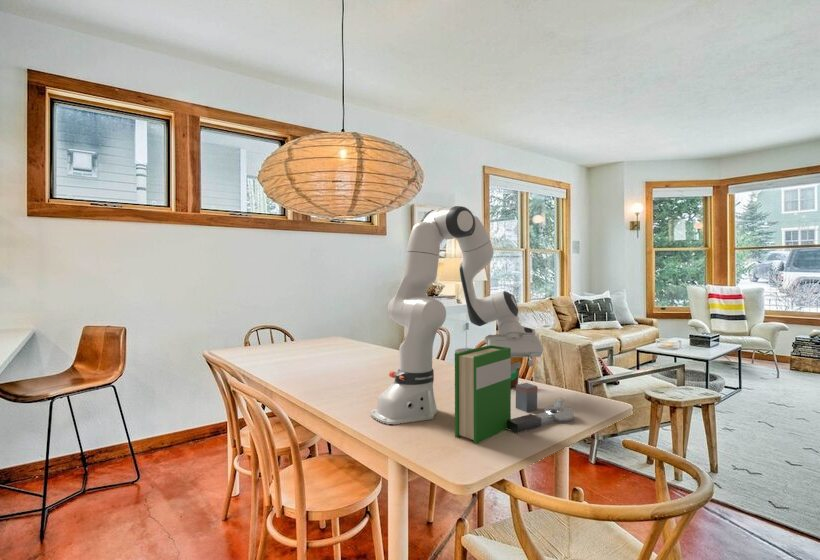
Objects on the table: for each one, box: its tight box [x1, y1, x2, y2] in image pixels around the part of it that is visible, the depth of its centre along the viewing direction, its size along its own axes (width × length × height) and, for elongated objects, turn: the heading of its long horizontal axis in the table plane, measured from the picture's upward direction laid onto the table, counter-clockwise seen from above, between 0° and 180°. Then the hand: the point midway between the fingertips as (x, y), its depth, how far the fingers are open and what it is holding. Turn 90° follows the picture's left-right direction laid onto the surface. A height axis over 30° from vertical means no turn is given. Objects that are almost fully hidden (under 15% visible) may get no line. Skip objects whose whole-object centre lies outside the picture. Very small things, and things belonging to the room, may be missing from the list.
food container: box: [511, 361, 522, 389], centre depth 176 cm, size 12×6×10 cm, turn 70°
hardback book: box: [454, 345, 512, 445], centre depth 128 cm, size 18×7×24 cm, turn 136°
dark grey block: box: [515, 382, 538, 413], centre depth 149 cm, size 5×5×8 cm
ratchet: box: [506, 397, 575, 434], centre depth 135 cm, size 25×9×6 cm, turn 121°
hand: (518, 365), depth 158 cm, fingers open, 8 cm apart
